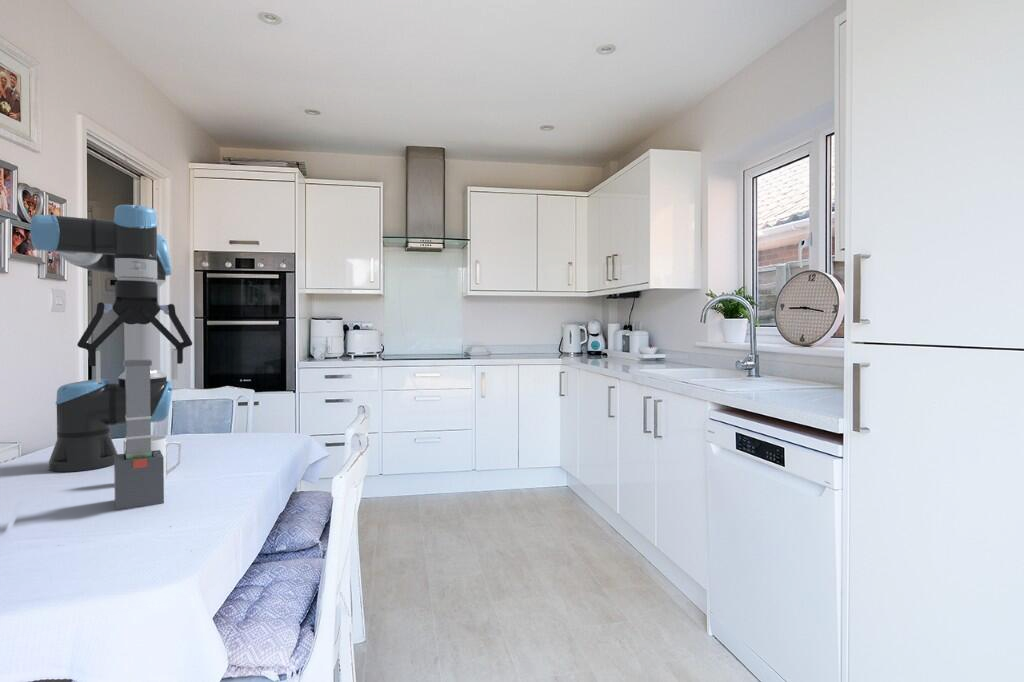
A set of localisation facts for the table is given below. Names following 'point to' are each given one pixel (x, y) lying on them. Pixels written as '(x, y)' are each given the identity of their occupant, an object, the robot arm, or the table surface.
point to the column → (137, 409)
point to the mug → (162, 450)
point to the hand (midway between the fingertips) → (137, 380)
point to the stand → (138, 481)
